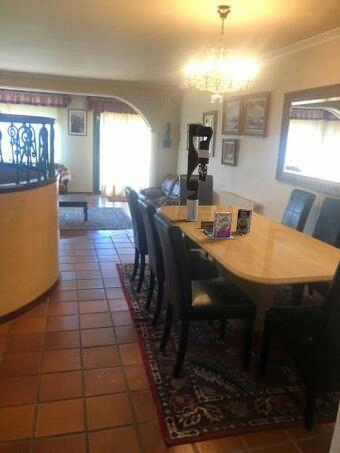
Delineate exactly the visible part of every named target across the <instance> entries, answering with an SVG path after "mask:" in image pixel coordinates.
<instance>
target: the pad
mask: <svg viewBox="0 0 340 453" xmlns="http://www.w3.org/2000/svg"><path fill="white" fill-rule="evenodd" d="M207 237H209V238H210V239H211V240H235V239H236V238H235V237H234V236H233V235H231V234H230V237H214V236H213V235H207Z"/></svg>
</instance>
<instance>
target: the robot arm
mask: <svg viewBox="0 0 340 453" xmlns="http://www.w3.org/2000/svg"><path fill="white" fill-rule="evenodd" d="M213 135H214V128H213V126H210V125H209V126H208V125H207V126H206V125H203V124H200V123H190V124H189V126H188V148H187V150H188V151H187V169H186V170H187V171H186V181H185V182H186V183H185V189H186V191H192V192H194V193H191V194H188V195H187V196H186V210H185V221H187V222H192V223H193V222H198V215H199V214H198V213H199V200H200V198H199V197H200V187H201V182H204V183H205V182H206V179H207V178H206V177H207V176H208V165H209V163H210V144H211V140H212V137H213ZM195 137H196V138H198V137H199V138H206V139H204V140H200V141H199V144H198V148H197V146H196V143H195V141H194V138H195ZM196 169H198V170H197V174H198V179H196V178H195V179H194V178H191V177H192V175H193V173H194V172H195V171H196Z"/></svg>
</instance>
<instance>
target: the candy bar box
mask: <svg viewBox="0 0 340 453" xmlns="http://www.w3.org/2000/svg"><path fill="white" fill-rule="evenodd" d="M213 214H214V216H213V221H214V224H213V236H214V237H230V235H231V229H232V222H233V213H232V212H229V211H228V212H227V211H214V213H213Z"/></svg>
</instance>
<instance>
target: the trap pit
mask: <svg viewBox="0 0 340 453" xmlns="http://www.w3.org/2000/svg"><path fill="white" fill-rule="evenodd" d="M203 233H204V234H205V235H207V236H208V235H213V230H209V229H204V228H203Z"/></svg>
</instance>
